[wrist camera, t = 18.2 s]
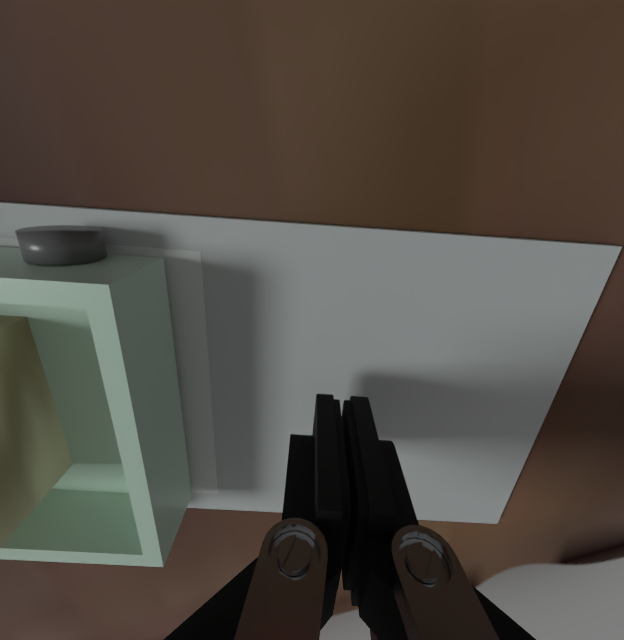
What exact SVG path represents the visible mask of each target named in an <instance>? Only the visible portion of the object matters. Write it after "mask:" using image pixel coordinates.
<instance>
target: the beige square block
mask: <svg viewBox="0 0 624 640" xmlns="http://www.w3.org/2000/svg"><path fill="white" fill-rule="evenodd" d="M72 464H73V462H72V458H71V455H70V452H69V449H68V446H67V443H66V439H65V436H64V433H63V430H62V427H61V424H60V420H59V417H58V414H57V411H56V408H55V405H54V401H53V398H52V395H51V392H50V389H49V386H48V382H47V379H46V376H45V373H44V370H43V367H42V363H41V360H40V357H39V354H38V351H37V348H36V344H35V341H34V338H33V335H32V332H31V329H30V325H29V322H28V319H27V317H22V316H6V315H0V548H1V547H2V545H3V544H4V543H5V542H6V541H7V540H8V539H9V537H10V536H11V535H12V534H13V533H14V532H15V530H16V529H17V528H18V527H19V526H20V525H21V523H22V522H23V521H24V520H25V519H26V518H27V517H28V515H29V514H30V513H31V512H32V511H33V510H34V508H35V507H36V506H37V505H38V504H39V503H40V501H41V500H42V499H43V498H44V497H45V496H46V494H47V493H48V492H49V491H50V490H51V489H52V488H53V486H54V485H55V484H56V483H57V482H58V481H59V479H60V478H61V477H62V476H63V475H64V474H65V472H66V471H67V470H68V469H69V468H70V467H71V466H72Z"/></svg>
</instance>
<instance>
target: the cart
mask: <svg viewBox="0 0 624 640" xmlns="http://www.w3.org/2000/svg"><path fill="white" fill-rule="evenodd" d="M15 233H16V236H17V240H18V243H19V246H20V248H10V247H0V315H6V316H22V317H27V319H28V322H29V325H30V329H31V332H32V335H33V338H34V341H35V344H36V348H37V351H38V354H39V357H40V360H41V363H42V367H43V370H44V373H45V376H46V379H47V382H48V386H49V389H50V392H51V395H52V398H53V401H54V405H55V408H56V411H57V414H58V417H59V420H60V424H61V427H62V430H63V433H64V436H65V439H66V443H67V446H68V449H69V452H70V455H71V458H72V462H73V464H72V466H71V467H70V468H69V469H68V470H67V471H66V472H65V474H64V475H63V476H62V477H61V478H60V479H59V481H58V482H57V483H56V484H55V485H54V486H53V488H52V489H51V490H50V491H49V492H48V493H47V494H46V496H45V497H44V498H43V499H42V500H41V501H40V503H39V504H38V505H37V506H36V507H35V508H34V510H33V511H32V512H31V513H30V514H29V515H28V517H27V518H26V519H25V520H24V521H23V522H22V523H21V525H20V526H19V527H18V528H17V529H16V530H15V532H14V533H13V534H12V535H11V536H10V537H9V539H8V540H7V541H6V542H5V543H4V544H3V545H2V547H1V548H0V559H8V560H29V561H50V562H70V563H91V564H111V565H132V566H153V567H164V564H165V562H166V559H167V557H168V554H169V552H170V549H171V547H172V544H173V542H174V539H175V536H176V534H177V531H178V529H179V526H180V524H181V521H182V519H183V516H184V514H185V511H186V509H187V506H188V504H189V501H190V498H191V496H192V493H191V485H190V476H189V468H188V459H187V451H186V443H185V434H184V426H183V417H182V409H181V401H180V392H179V384H178V375H177V367H176V358H175V350H174V342H173V333H172V325H171V316H170V308H169V300H168V291H167V283H166V274H165V266H164V258H157V257H142V256H128V255H113V254H107V252H106V246H105V241H104V236H103V231H102V229H101V228H98V227H91V226H78V225H52V226H36V227H27V228H21V229H18V230H16V231H15Z"/></svg>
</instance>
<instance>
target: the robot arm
mask: <svg viewBox="0 0 624 640" xmlns="http://www.w3.org/2000/svg"><path fill="white" fill-rule="evenodd" d="M341 569H342V581H343V589H344V590H351V602H352V606H358V607H359V616H360V618H361V619H362V620H363V621H364V622H365V623H366V625H367V626H368V627H369V628H370V634H371V640H536V639H534V637H532V636H531V635H530V634H529V633H528V632H526V631H525V630H524V629H523V628H522V627H521V626H519V625H518V624H517V623H516V622H515V621H513V620H512V619H511V618H510V617H509V616H507V615H506V614H505V613H504V612H503V611H502V610H500V609H499V608H498V607H497V606H496V605H495V604H493V603H492V602H491V601H490V600H489V599H487V598H486V597H485V596H484V595H483V594H482V593H480V592H479V591H478V590H477V589H476V588H474V587H473V586H472V585H471V583H470V581H469V579H468V577H467V575H466V574H465V572H464V570H463V568H462V566H461V564H460V562H459V560H458V558H457V556H456V554H455V553H454V551H453V550H452V548H451V546H450V545H449V544H448V543H447V542H446V541H445V540H444V539H443V538H442V537H441V536H440V535H439V534H437V533H436V532H434V531H433V530H431V529H429V528H426V527H424V526H421V525H419V524H418V520H417V517H416V514H415V511H414V507H413V504H412V501H411V498H410V494H409V491H408V488H407V484H406V481H405V478H404V475H403V471H402V468H401V465H400V461H399V458H398V455H397V452H396V448H395V445H394V443H393V442H392V441H389V440H379V438H378V434H377V430H376V426H375V422H374V418H373V414H372V410H371V406H370V402H369V399H368V397H361V396H351V397H350V400H344V403H343V410H342V416H341V407H340V400H338V399H334V397H333V395H331V394H316V402H315V413H314V423H313V433H312V435H297V434H290V443H289V453H288V463H287V473H286V483H285V493H284V503H283V513H282V521H280V522H278V523H277V524H275V525H274V526H273V527H272V528H271V529H270V530H269V531H268V532H267V534H266V536H265V538H264V540H263V543H262V546H261V549H260V553H259V556H258V557H257V558H256V559H255V560H254V561H253V562H252V563H250V564H249V565H248V566H247V567H246V568H245V569H244V570H242V571H241V572H240V573H239V574H238V575H237V576H236V577H234V578H233V579H232V580H231V581H230V582H229V583H228V584H226V585H225V586H224V587H223V588H222V589H221V590H220V591H219V592H217V593H216V594H215V595H214V596H213V597H212V598H211V599H209V600H208V601H207V602H206V603H205V604H204V605H203V606H201V607H200V608H199V609H198V610H197V611H196V612H195V613H193V614H192V615H191V616H190V617H189V618H188V619H187V620H185V621H184V622H183V623H182V624H181V625H180V626H179V627H178V628H176V629H175V630H174V631H173V632H172V633H171V634H170V635H168V636H167V637H166V638H165V639H164V640H319V635H320V630H321V629H322V628H323V626H324V625H325V624H326V623H327V621H328V620H329V619H330V617H331V616H332V615H333V609H334V604H335V599H336V593H337V590H338V585H339V580H340V574H341Z"/></svg>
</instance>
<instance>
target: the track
mask: <svg viewBox="0 0 624 640" xmlns="http://www.w3.org/2000/svg"><path fill="white" fill-rule="evenodd" d="M52 225H78V226H91V227H98V228H101V229H102V231H103V236H104V241H105V246H106V252H107V254H113V255H128V256H142V257H157V258H164V266H165V274H166V283H167V291H168V300H169V308H170V316H171V325H172V333H173V342H174V350H175V358H176V367H177V375H178V384H179V392H180V401H181V409H182V417H183V426H184V434H185V443H186V451H187V459H188V468H189V476H190V485H191V493H192V496H191V498H190V501H189V504H188V506H187V508H205V509H224V510H244V511H263V512H282V513H283V503H284V493H285V483H286V473H287V463H288V453H289V443H290V434H297V435H312V433H313V423H314V413H315V402H316V394H331V395H333V397H334V399H338V400H340V407H341V416H342V410H343V403H344V400H350V397H351V396H361V397H368V399H369V402H370V406H371V410H372V414H373V418H374V422H375V426H376V430H377V434H378V438H379V440H389V441H392V442H393V443H394V445H395V448H396V452H397V455H398V458H399V461H400V465H401V468H402V471H403V475H404V478H405V481H406V484H407V488H408V491H409V494H410V498H411V501H412V504H413V507H414V511H415V514H416V517H417V520H435V521H454V522H473V523H492V524H497V523H498V521H499V519H500V517H501V514H502V512H503V510H504V508H505V506H506V503H507V501H508V499H509V497H510V494H511V492H512V490H513V488H514V486H515V483H516V481H517V479H518V477H519V475H520V472H521V470H522V468H523V466H524V463H525V461H526V459H527V457H528V455H529V452H530V450H531V448H532V446H533V443H534V441H535V439H536V437H537V435H538V432H539V430H540V428H541V426H542V424H543V421H544V419H545V417H546V415H547V412H548V410H549V408H550V406H551V404H552V401H553V399H554V397H555V395H556V392H557V390H558V388H559V386H560V384H561V381H562V379H563V377H564V375H565V373H566V370H567V368H568V366H569V364H570V361H571V359H572V357H573V355H574V353H575V350H576V348H577V346H578V344H579V341H580V339H581V337H582V335H583V333H584V330H585V328H586V326H587V324H588V322H589V319H590V317H591V315H592V313H593V310H594V308H595V306H596V304H597V302H598V299H599V297H600V295H601V293H602V290H603V288H604V286H605V284H606V282H607V279H608V277H609V275H610V273H611V271H612V268H613V266H614V264H615V262H616V259H617V257H618V255H619V253H620V251H621V248H622V247H621V246H616V245H608V244H593V243H579V242H565V241H551V240H537V239H523V238H509V237H495V236H480V235H466V234H452V233H438V232H424V231H410V230H396V229H382V228H367V227H353V226H339V225H325V224H311V223H297V222H283V221H269V220H254V219H240V218H226V217H212V216H198V215H184V214H170V213H156V212H141V211H127V210H113V209H99V208H85V207H71V206H57V205H43V204H28V203H14V202H0V247H10V248H20V246H19V243H18V240H17V236H16V233H15V231H16V230H18V229H21V228H27V227H36V226H52Z"/></svg>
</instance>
